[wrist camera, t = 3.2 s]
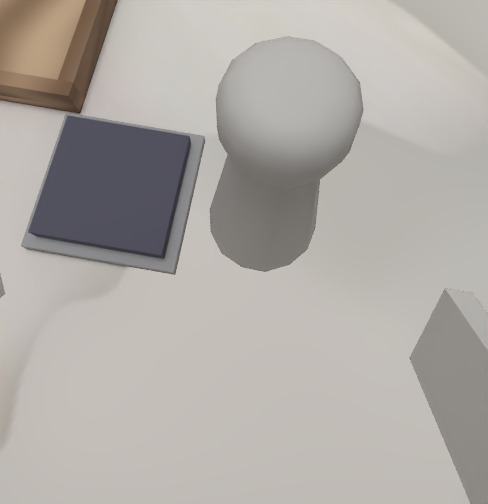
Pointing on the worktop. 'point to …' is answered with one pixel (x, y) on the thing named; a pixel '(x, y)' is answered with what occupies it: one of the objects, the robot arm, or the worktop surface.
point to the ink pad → (116, 194)
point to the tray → (51, 50)
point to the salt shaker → (279, 146)
